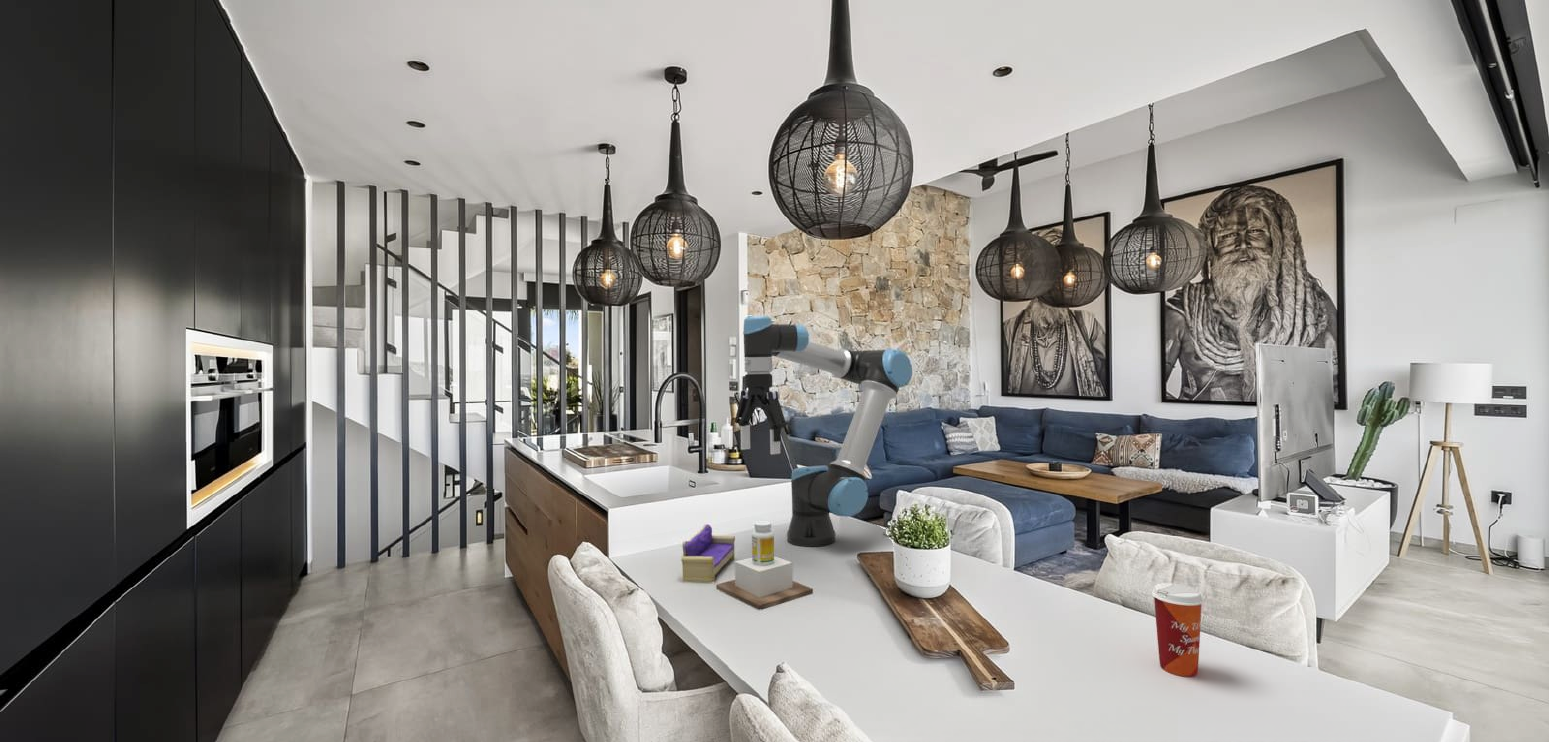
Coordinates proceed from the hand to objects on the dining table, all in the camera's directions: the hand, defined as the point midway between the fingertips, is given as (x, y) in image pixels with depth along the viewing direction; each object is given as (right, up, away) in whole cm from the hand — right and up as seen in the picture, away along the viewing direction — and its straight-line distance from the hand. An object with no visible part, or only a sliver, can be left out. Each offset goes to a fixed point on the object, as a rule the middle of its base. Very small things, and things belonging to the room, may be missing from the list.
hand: (760, 451), depth 170 cm
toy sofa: (-14, -33, 0) cm, 35 cm away
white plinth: (+1, -32, -17) cm, 36 cm away
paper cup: (+75, -31, -60) cm, 101 cm away
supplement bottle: (+1, -25, -17) cm, 30 cm away
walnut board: (+1, -32, -17) cm, 36 cm away
